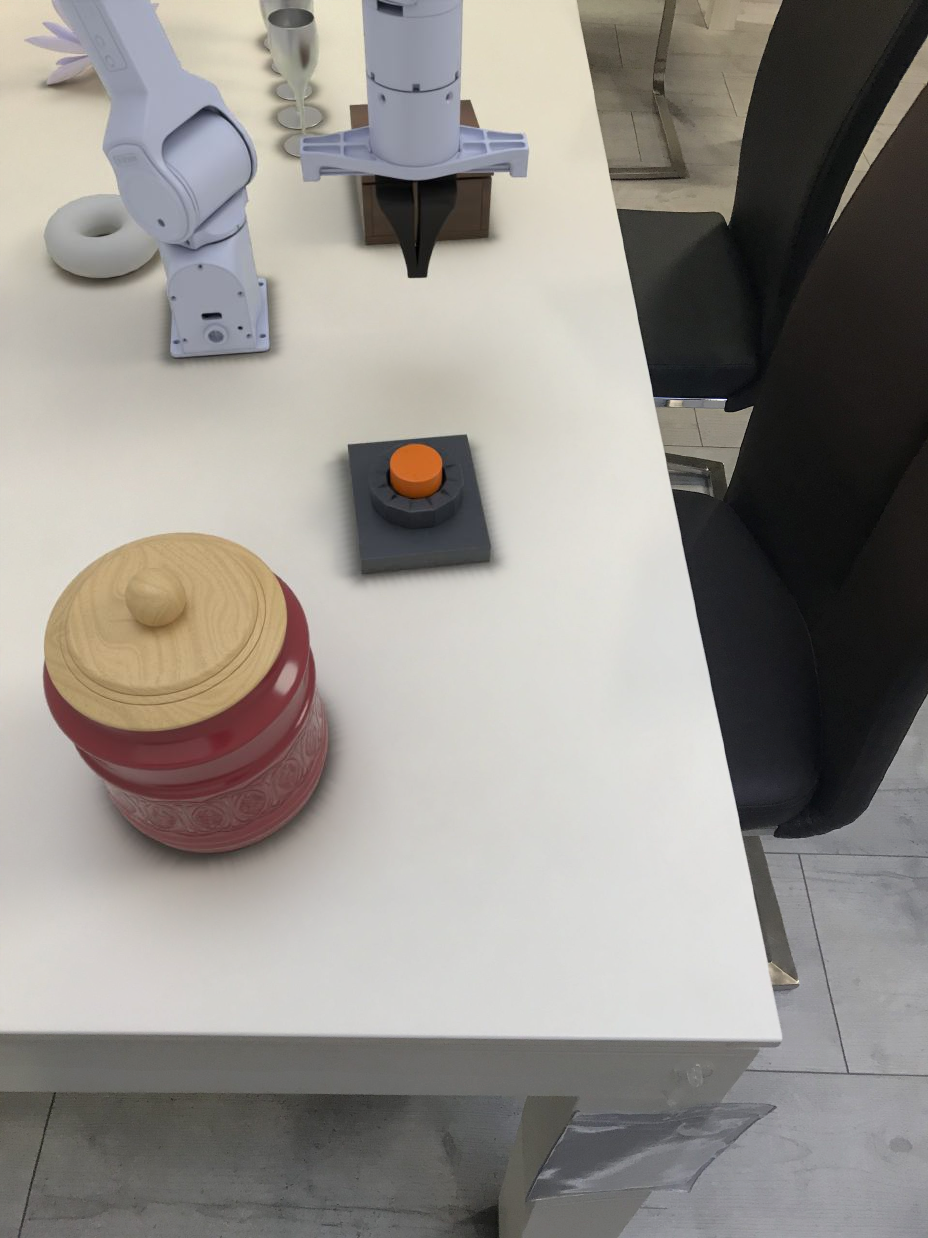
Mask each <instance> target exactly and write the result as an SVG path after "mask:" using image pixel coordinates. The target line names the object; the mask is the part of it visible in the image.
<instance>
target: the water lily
mask: <svg viewBox="0 0 928 1238" xmlns="http://www.w3.org/2000/svg"><path fill="white" fill-rule="evenodd" d="M151 4H152V6H153V8H154V10H155V12H156V11H157V9H158V8H159V6H160V3H159V2H151ZM51 5H52V7H53V9H54V11H55V12H56V14H57V15H58V17H59V18H60V19H61V21H62V22H63V23H64V24H65V25H66V26H64V25H62V24H59V23H56V22H53V21H43V22H42V23H41V24H42V25H43V26H44V27H45V28H46V29H47V30H48V31H49V32H50V33H52V34H53V35H54V36H52V35H34V36H30V37H27V38H24V39H23V41H24V42H25V43H27V44H30V45H32V46H34V47H38V48H41V49H44V50H47V51H51V52H55V53H60V54H61V53H62V54H70V55H76V56H66V57H62V58H59V59H58V60H57V61H56V62H55V65H56V66H59V67H57V68H56V69H55V70H53V71H52V72H51V73H50V75H49V76H48V77H47V80H46V85H53V84H56V83H60V82H64V81H67V80H69V79H72V78H73V77H76V76H77V75H79V74H80V73H82V72H83V71H85V70H86V69H87V68H88V67H90V66H91V65H92V63H91V61H90V59H89V57H88V56H87V54H86V52H85V50H84V48H83V46H82V44H81V43H80V41H79V39H78V37H77V35H76V33H75V31H74V30H73V28H72V26H71V24H70V22H69V20H68V18H67V17H66V15H65V13H64V11H63V9H62V7H61V6H60V4H59V2H58V0H51ZM77 55H79V56H77Z"/></svg>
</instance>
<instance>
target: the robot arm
mask: <svg viewBox="0 0 928 1238" xmlns="http://www.w3.org/2000/svg"><path fill="white" fill-rule="evenodd" d="M58 2H59V4H60V6H61V7H62V9H63V11H64V13H65V15H66V17H67V18H68V20H69V22H70V24H71V26H72V28H73V30H74V31H75V33H76V35H77V37H78V39H79V41H80V43H81V44H82V46H83V48H84V50H85V52H86V54H85V55H87V56H88V57H89V59H90V61H91V63H92V64H91V65H92V67H93V68H94V71H95V72H96V74H97V76H98V78H99V80H100V81H101V83H102V85H103V87H104V89H105V91H106V93H107V94H108V97H109V98H110V109H109V113H108V117H107V122H106V127H105V131H104V136H103V140H102V152H103V153H104V156H105V157H106V158H107V160H108V162H109V164H110V166H111V168H112V170H113V173H114V177H115V179H116V184H117V190H118V193H119V195H120V196H121V199H122V201H123V203H124V206H125V208H126V209H127V211H128V213H129V214H130V216H131V217H132V218H133V220H134V221H135V222H136V223H137V224H138V225H139V226H140V227H141V228H142V229H143V230H144V231H146V232H147V233H148V234H149V235H151V236H153V237H155V238H156V240H157V244H158V251H159V255H160V259H161V262H162V267H163V270H164V273H165V277H166V295H167V299H168V303H169V306H170V310H171V324H170V325H171V326H170V347H169V348H170V355H171V357H173V358H191V357H203V356H215V355H216V356H217V355H218V356H219V355H230V354H243V353H257V352H258V353H259V352H266V351H268V350H269V349H270V347H271V345H270V328H269V327H270V326H269V308H268V307H269V306H268V288H267V287H268V286H267V279H266V278H264V277H258V273H257V268H256V262H255V256H254V249H253V246H252V245H253V244H252V240H251V233H250V228H249V222H248V216H247V211H246V207H247V206H246V205H247V204H248V203H249V201H250V200H249V196H248V190H247V186H249V185H250V184H251V183H252V182H253V180H255V177H256V175H257V171H258V156H257V155H258V154H257V151H256V148H255V144H254V142H253V140H252V138H251V136H250V134H249V133H248V131H247V130H246V128H245V127H244V125H243V124H242V123H241V122H240V121H239V120H238V118H236V116H235V115H234V114H233V113H232V111H231V110H230V108H228V105H227V103H225V101H224V99H223V97H222V94H221V92H220V90H219V88H218V86H217V85H216V84H215V83H214V82H213V81H210V80H208V79H205V78H203V77H201V76H198V75H196V74H193V73H192V72H189V71H187V70H185V68H183V67H182V64H181V63H180V60H179V58H178V56H177V54H176V51H175V50H174V48H173V46H172V44H171V41H170V40H169V39H170V38H168V35H167V33H166V31H165V28H163V24H162V23H161V20H160V18H159V16H158V14H157V12H156V11H155V10H154V8H153V6H152V4H151V3H152V1H151V0H58ZM463 9H464V0H361V10H362V11H361V14H362V28H363V29H362V30H363V31H362V32H363V45H364V47H363V49H364V63H365V81H366V82H365V83H366V97H367V104H368V118H369V126H366V127H361V128H356V129H351V128H350V129H347V130H342V131H338V132H333V133H327V134H321V135H318V136H309V137H301V138H300V157H299V158H300V166H301V174H302V181H303V183H312V182H313V183H316V182H319V181H320V180H321V177H336V176H337V177H338V176H341V177H342V176H343V177H344V176H355V175H375V189H376V199H377V202H378V204H379V206H380V209H381V211H382V212H383V214H384V215H385V217H386V218H387V220H388V222H389V223H390V225H391V227H392V229H393V231H394V233H395V235H396V237H397V239H398V242H399V243H398V245H399V247H400V250H401V252H402V255H403V259H404V262H405V267H406V274H407V275H406V276H407V278H408V279H426V278H428V273H429V267H430V263H431V258H432V254H433V251H434V249H435V245H436V242H437V241H438V240H437V238H438V235H439V233H440V231H441V229H442V227H443V225H444V223H445V221H446V220H447V218H448V216H449V215H450V213H451V212H452V210H453V209H454V207H455V204H456V201H457V196H458V188H457V173H490V172H494V173H508V174H509V176H510V177H511V178H527V176H528V167H529V166H528V165H529V154H530V146H529V142H528V139H527V134H526V133H525V132H508V131H499V130H493V129H486V128H481V127H480V128H475V127H469V126H463V125H460V100H461V90H462V89H461V88H462V61H463V60H462V59H463V58H462V57H463V56H462V55H463V19H464V18H463V17H464V15H463V14H464V10H463ZM413 180H417V209H418V215H417V232H416V242H415V237H414V214H415V204H414V194H413Z"/></svg>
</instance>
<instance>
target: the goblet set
mask: <svg viewBox="0 0 928 1238" xmlns="http://www.w3.org/2000/svg"><path fill="white" fill-rule="evenodd" d="M258 6H259V11H260V15H261V17H262V20H263V23H264V26H265V28H266V31H267V37H266V38H265V39H264V40H263V45H264V47H265V48H266V49H267V50H269V51H270V55H271V59H272V61H273V62H272V64H271V69H272V70H273V71H274V72H276V73H277V74H279V75H280V74H281V76H282V77H283V78H284V79H285V80H286V82H283V83H281V84H280V85H278V86H277V87H276V89H275V91H276V95H277V96H278V97H280V98H281V99H283V100H288V101H295V103H296V104H295V105H292V106H289V107H286V108H284V109H282V110H281V111H280V112H279V113H278V114H277V121H278V123H279V124H280V125H281V126H283V127H285V128H288V129H293V130H301V132H302V133H300V134H295V135H293V136H290V137H288V139H286V140H285V141H284V145H283V148H284V150H285V152H286V153H288V154H289V155H291V156H293V157H295V158H297V157H298V158H300V138H301V137H309V136H319V135H318V134H315V133H314V134H313V133H307V129H311V128H313V127H316V126H317V125H318V124H320V123H321V122H322V119H323V115H322V113H321V112H320V110H318V109H317V108H315V107H312V106H307V105H305V99H306V98H308V97H310V96H311V95H312V93H313V88H312V86H311V85H310V84H309V82H310V80H311V78H312V77H313V74H314V73H315V71H316V69H317V65H318V61H319V55H320V38H319V30H318V26H317V21H316V18H315V15H314V13H315V11H314V10H315V4H314V0H258Z"/></svg>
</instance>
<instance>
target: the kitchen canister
mask: <svg viewBox="0 0 928 1238" xmlns="http://www.w3.org/2000/svg"><path fill="white" fill-rule="evenodd" d="M45 627H46V628H45V630H44V632H45V633H44V638H43V653H44V655H43V656H44V659H43V667H42V668H43V669H42V686H43V694H44V697H45V702H46V704H47V707H48V710H49V712H50V714H51V716H52V718H53V720H54V721H55V723H56V725H57V726H58V728H59V729H60V731H61V732H62V733H63V734H64V735H65V736H66V737H67V738H68V739H69V741H71V742H72V743H73V745H74V747H75V750H76V751H77V753H78V755H79V756H80V758H81V759H82V761H83V762H84V763H85V764H86V766H87V767H88V768H90V770H91V771H92V773H95V775H97V776H98V777H99V778H100V780H101V781H102V782H103V783H104V786H105V788H106V791H107V793H108V795H109V798H110V799H111V801H112V803H113V804H114V806H115V808H117V809H118V811H120V813H121V814H122V816H123V817H124V818H125V819H126V821H127V822H129V823H130V824H131V825H132V826H133V827H134V828H135V829H137V830H138V831H139V832H141V833H142V834H144V835H145V836H147V837H149V838H150V839H153V840H154V841H157V842H159V843H161V844H163V845H165V846H168V847H171V848H173V849H176V850H181V851H184V852H191V853H200V854H211V853H212V854H214V853H216V854H217V853H224V852H230V851H235V850H238V849H242V848H245V847H248V846H251V845H253V844H256V843H259V842H260V841H262V840H265V839H266V838H268V837H269V836H271V835H273V834H275V833H276V832H278V831H279V830H280V829H281V828H283V827H284V826H285V825H287V824H288V823H289V822H290V821H292V820H293V818H295V817H296V816H297V814H298V813H300V812H301V810H302V809H303V808H304V807H305V805H306V804H307V802H308V801H309V800H310V798H311V797H312V795H313V793H314V791H315V790H316V788H317V786H318V784H319V781H320V779H321V776H322V774H323V770H324V766H325V763H326V758H327V753H328V747H329V726H328V719H327V713H326V709H325V707H324V706H325V705H324V703H323V699H322V697H321V695H320V692H319V691H318V686H317V669H316V661H315V657H314V653H313V649H312V646H311V638H310V637H311V636H310V628H309V623H308V620H307V616H306V613H305V610H304V608H303V605H302V604H301V602H300V600H299V599H298V597H297V596H296V594H295V593H294V591H293V590H292V589H291V587H290V586H289V585H288V584H287V583H286V581H284V580H283V579H282V578H281V577H280V576H279V575H278V574H277V573H276V572H274V571H273V570H272V569H271V568H270V567H269V566H268V564H267V563H266V562H264V560H263V559H262V558H260V557H259V556H258V555H256V554H255V553H254V552H253V551H251V550H250V549H248V548H246V547H245V546H243V545H242V544H239V543H237V542H235V541H233V540H229V539H227V538H224V537H220V536H216V535H213V534H207V533H199V532H169V533H161V534H156V535H150V536H146V537H142V538H138V539H136V540H133V541H130V542H128V543H125V544H122V545H120V546H118V547H116V548H114V549H112V550H110V551H108V552H106V553H105V554H103V555H101V556H100V557H98V558H97V559H95V560H94V561H92V562H91V563H90V564H88V565H87V566H86V567H85V568H83V570H82V571H80V572H78V574H77V575H76V576H75V577H74V578H73V579H72V580H71V581H70V582H69V584H67V586H66V587H65V589H64V590H63V591H62V592H61V594H60V595H59V596H58V599H57V600H56V602H55V604H54V606H53V608H52V610H51V612H50V615H49V617H48V620H47V623H46V626H45Z"/></svg>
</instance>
